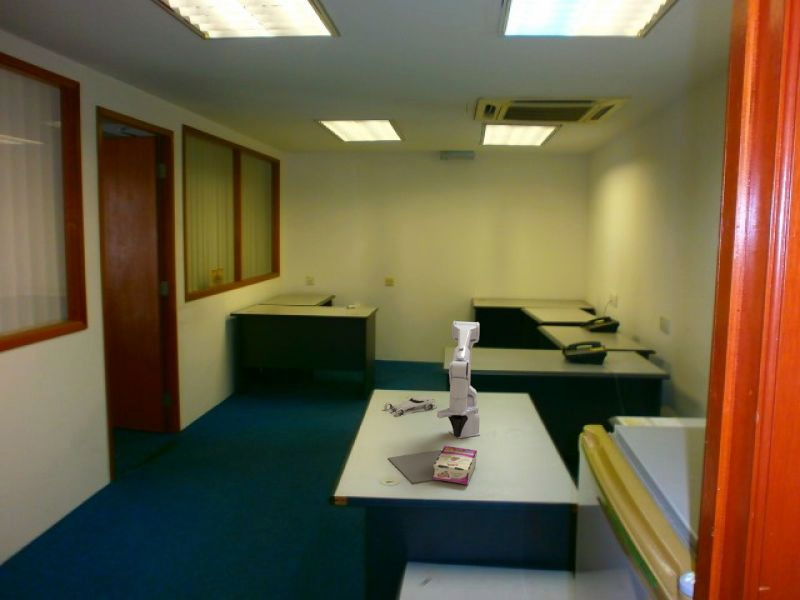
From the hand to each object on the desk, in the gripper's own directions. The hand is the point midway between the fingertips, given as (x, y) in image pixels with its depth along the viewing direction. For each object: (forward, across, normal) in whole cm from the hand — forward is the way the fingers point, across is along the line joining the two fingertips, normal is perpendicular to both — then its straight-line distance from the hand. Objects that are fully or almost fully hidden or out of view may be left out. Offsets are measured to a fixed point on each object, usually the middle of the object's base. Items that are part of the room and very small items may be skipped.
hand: (457, 436), depth 189 cm
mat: (+9, -11, 0) cm, 14 cm away
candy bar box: (+6, +1, -1) cm, 6 cm away
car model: (+10, +9, +56) cm, 57 cm away
